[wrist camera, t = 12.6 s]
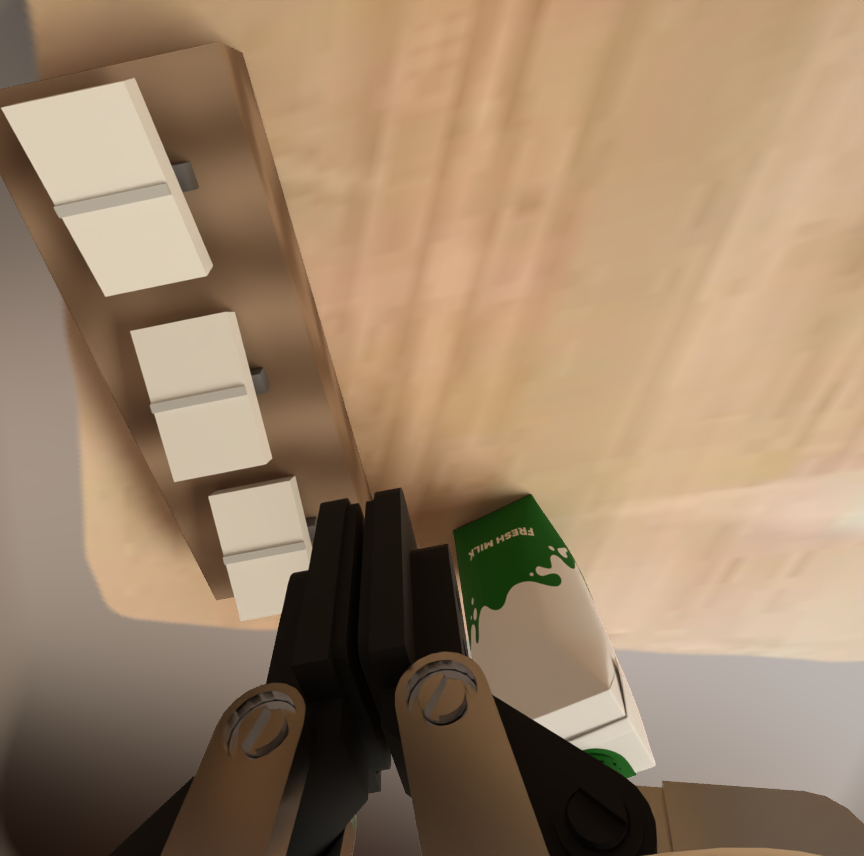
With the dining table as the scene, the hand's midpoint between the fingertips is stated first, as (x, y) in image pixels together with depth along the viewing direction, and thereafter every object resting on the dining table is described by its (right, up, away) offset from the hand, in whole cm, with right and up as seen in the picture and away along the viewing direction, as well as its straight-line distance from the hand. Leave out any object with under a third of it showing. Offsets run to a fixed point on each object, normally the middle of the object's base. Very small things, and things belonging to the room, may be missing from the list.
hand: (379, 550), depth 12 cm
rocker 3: (-9, -5, +26) cm, 28 cm away
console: (-12, +7, +26) cm, 30 cm away
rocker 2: (-11, +4, +21) cm, 24 cm away
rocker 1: (-13, +14, +15) cm, 25 cm away
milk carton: (+7, -7, +35) cm, 37 cm away
